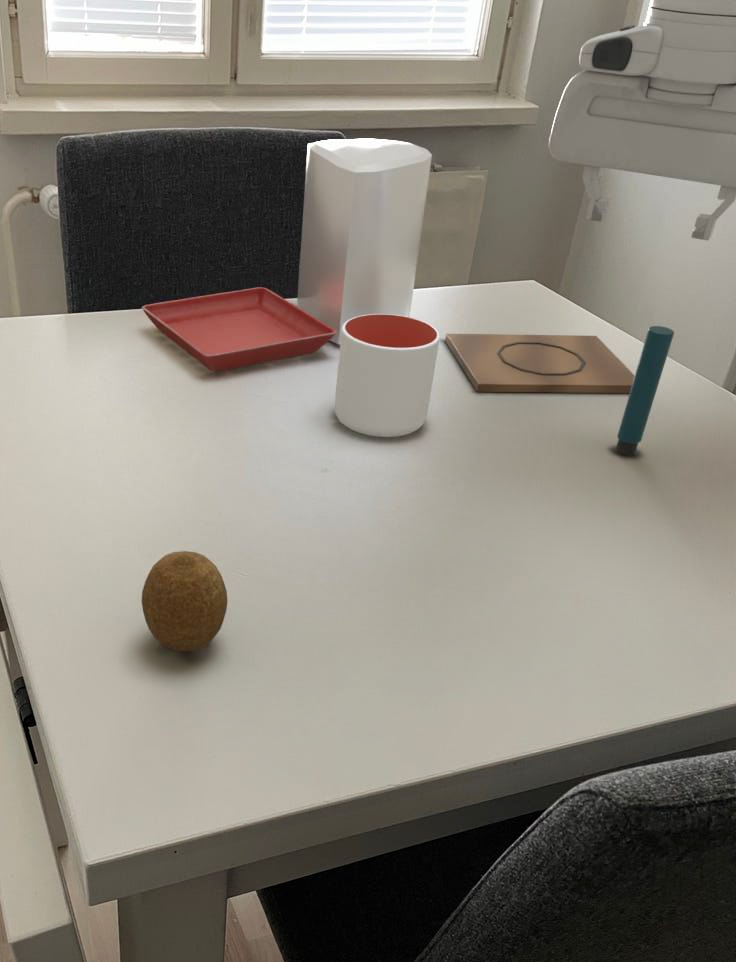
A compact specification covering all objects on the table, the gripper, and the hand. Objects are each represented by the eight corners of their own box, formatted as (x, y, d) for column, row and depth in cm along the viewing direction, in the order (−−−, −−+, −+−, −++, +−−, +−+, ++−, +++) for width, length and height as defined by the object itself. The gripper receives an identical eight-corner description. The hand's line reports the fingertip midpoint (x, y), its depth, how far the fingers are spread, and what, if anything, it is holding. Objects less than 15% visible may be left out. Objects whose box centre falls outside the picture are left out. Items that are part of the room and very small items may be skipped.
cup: (444, 429, 106) (460, 338, 100) (372, 450, 101) (385, 355, 95) (384, 395, 113) (396, 307, 106) (314, 413, 108) (322, 322, 102)
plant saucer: (206, 382, 113) (206, 354, 111) (139, 330, 125) (139, 303, 123) (337, 358, 121) (339, 331, 119) (262, 311, 133) (263, 286, 131)
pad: (594, 343, 129) (596, 334, 128) (642, 393, 116) (645, 384, 116) (444, 340, 127) (446, 332, 127) (476, 392, 115) (478, 383, 114)
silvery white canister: (290, 307, 135) (302, 128, 121) (386, 300, 139) (407, 126, 125) (331, 348, 123) (349, 156, 110) (434, 339, 127) (463, 153, 114)
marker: (631, 446, 105) (668, 325, 97) (640, 457, 103) (678, 334, 95) (609, 446, 105) (644, 325, 97) (618, 457, 103) (654, 334, 95)
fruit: (144, 620, 76) (141, 531, 72) (224, 620, 77) (227, 532, 72) (141, 671, 72) (138, 579, 67) (227, 671, 72) (230, 580, 67)
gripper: (835, 62, 79) (773, 241, 88) (583, 36, 87) (548, 203, 95) (828, 71, 75) (763, 258, 83) (563, 42, 83) (528, 216, 91)
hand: (647, 228), depth 89 cm, fingers open, 8 cm apart
